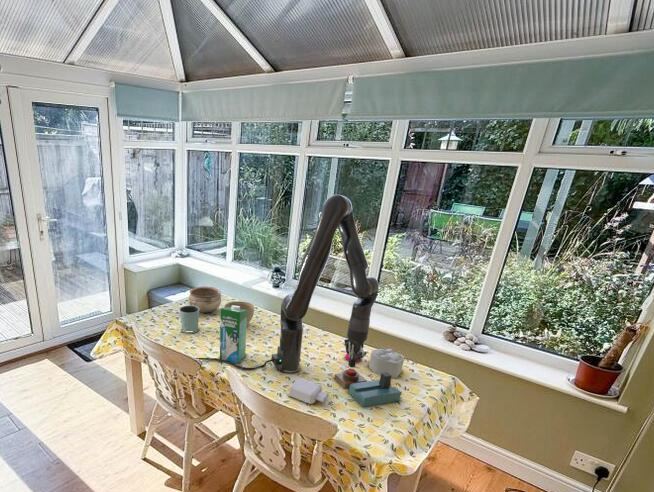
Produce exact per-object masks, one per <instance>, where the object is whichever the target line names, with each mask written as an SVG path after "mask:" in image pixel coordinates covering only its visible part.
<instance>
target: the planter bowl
mask: <svg viewBox="0 0 654 492" xmlns="http://www.w3.org/2000/svg"><path fill="white" fill-rule="evenodd" d="M232 305H234V306H240V309H244V310H247V327H248V326H249V324H250V322H251V321H252V319H253V317H254V314H255V308H256V307H255V305H254V304H253V303H251V302H248V301H241V300H235V301H229V302H227V303H225V304H224V305H223V308H225V307H231V306H232Z"/></svg>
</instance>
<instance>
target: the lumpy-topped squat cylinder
mask: <svg viewBox="0 0 654 492" xmlns="http://www.w3.org/2000/svg"><path fill="white" fill-rule="evenodd" d="M404 361H405V356H404V355H403V354H402V353H398V352H395V350H394V349H392V348H387V349H385V348H378V349H372V351H371V352H370V358H369V364H368V367H369V369H370V370H371V371H372V372H374V373H375V374H377V375H380V376H381V373H384V372H388V373H389V374H390V375H392V377H391V379H396V378H398V377H399V375H400V374H401V373H402V370H403V366H404Z"/></svg>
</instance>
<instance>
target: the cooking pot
mask: <svg viewBox="0 0 654 492" xmlns="http://www.w3.org/2000/svg"><path fill="white" fill-rule="evenodd" d="M189 293H190V294H189V295H188V302H187V304H189V306H197V307H198V308H199V313H201V314H209V313H212V312H213V311H215V310H217V309H219V307H220V306H221V303H222V297H221V296H222V295H221V294H222V293H221V290H220V289H219V288H217V287H214V286H196V287H193V288H191V289H190V290H189Z"/></svg>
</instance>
